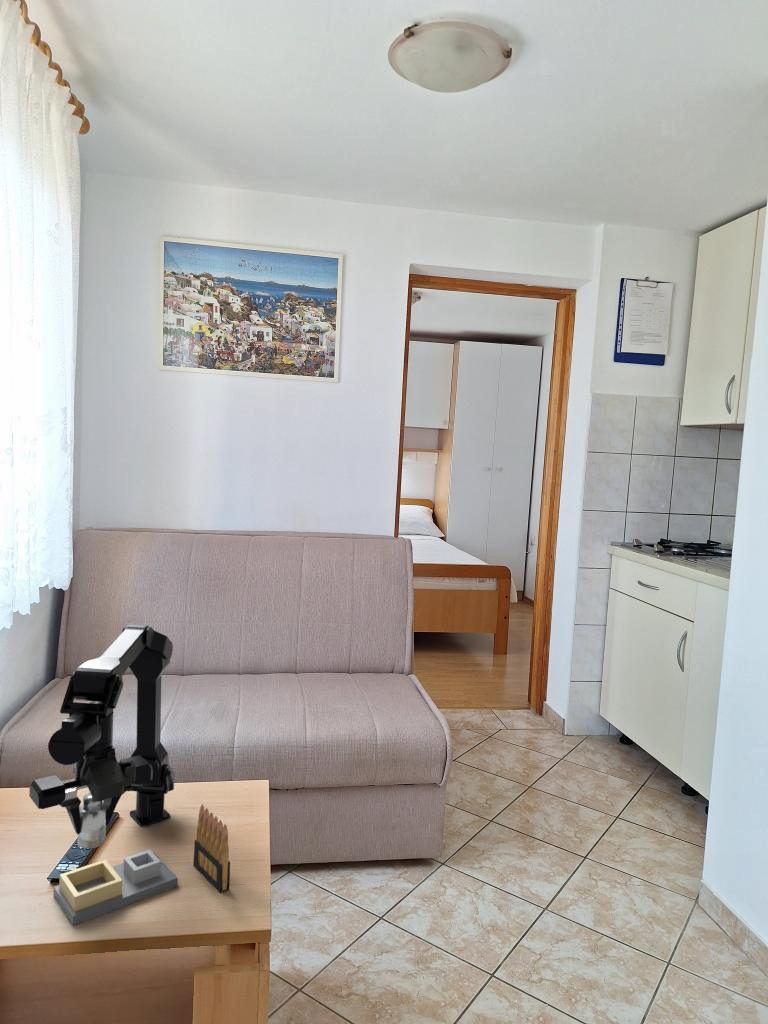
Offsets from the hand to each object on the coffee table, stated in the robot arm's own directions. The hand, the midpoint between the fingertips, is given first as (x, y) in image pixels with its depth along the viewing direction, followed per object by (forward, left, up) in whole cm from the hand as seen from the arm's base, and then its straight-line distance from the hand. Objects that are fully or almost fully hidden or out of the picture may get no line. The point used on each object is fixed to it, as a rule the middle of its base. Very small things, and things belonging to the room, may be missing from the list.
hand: (91, 829), depth 120 cm
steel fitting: (0, 0, -2) cm, 2 cm away
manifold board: (0, +5, -13) cm, 13 cm away
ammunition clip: (+6, +20, -13) cm, 24 cm away
